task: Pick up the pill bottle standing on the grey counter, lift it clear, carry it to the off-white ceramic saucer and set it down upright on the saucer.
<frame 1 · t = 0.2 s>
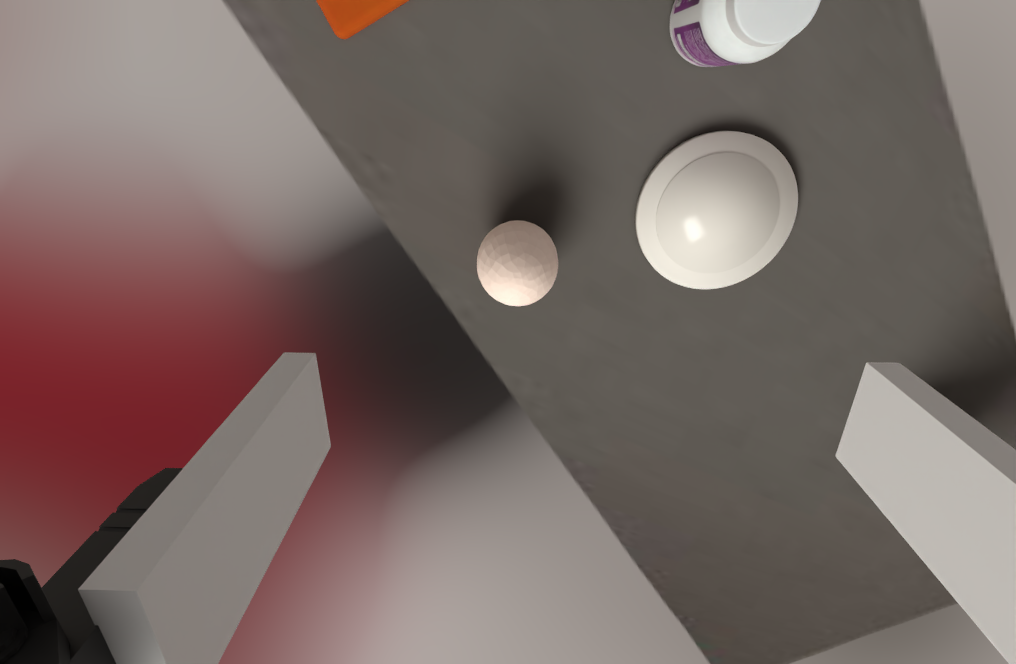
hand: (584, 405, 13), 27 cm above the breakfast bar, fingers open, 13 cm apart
egg: (517, 246, 40), on the breakfast bar
saucer: (712, 212, 38), on the breakfast bar
pill bottle: (710, 18, 33), on the breakfast bar
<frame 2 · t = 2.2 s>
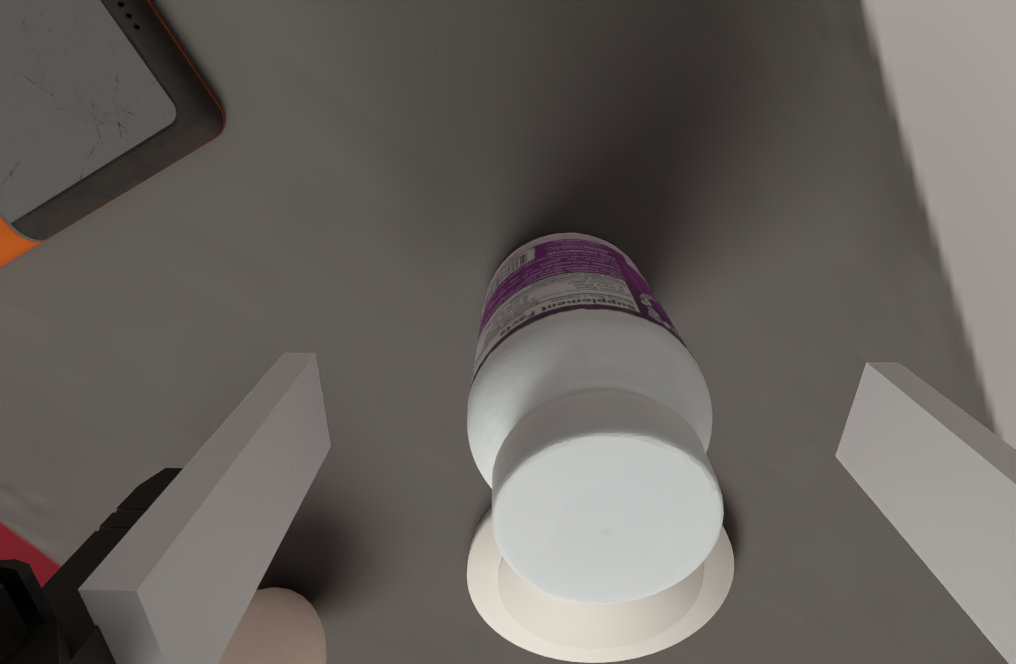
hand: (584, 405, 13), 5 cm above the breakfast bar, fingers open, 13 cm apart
egg: (288, 594, 25), on the breakfast bar
saucer: (596, 563, 23), on the breakfast bar
pill bottle: (564, 303, 18), on the breakfast bar
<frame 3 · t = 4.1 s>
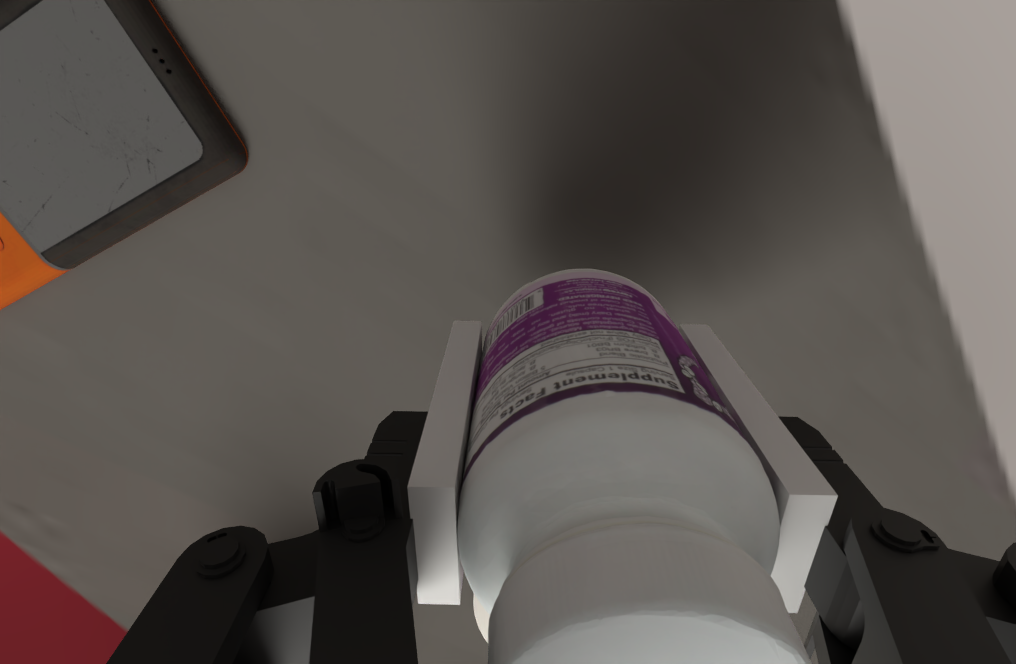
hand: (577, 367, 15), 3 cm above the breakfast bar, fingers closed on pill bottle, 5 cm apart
saucer: (602, 590, 23), on the breakfast bar
pill bottle: (576, 348, 15), point 3 cm above the breakfast bar, touching gripper
phone: (19, 172, 17), on the breakfast bar
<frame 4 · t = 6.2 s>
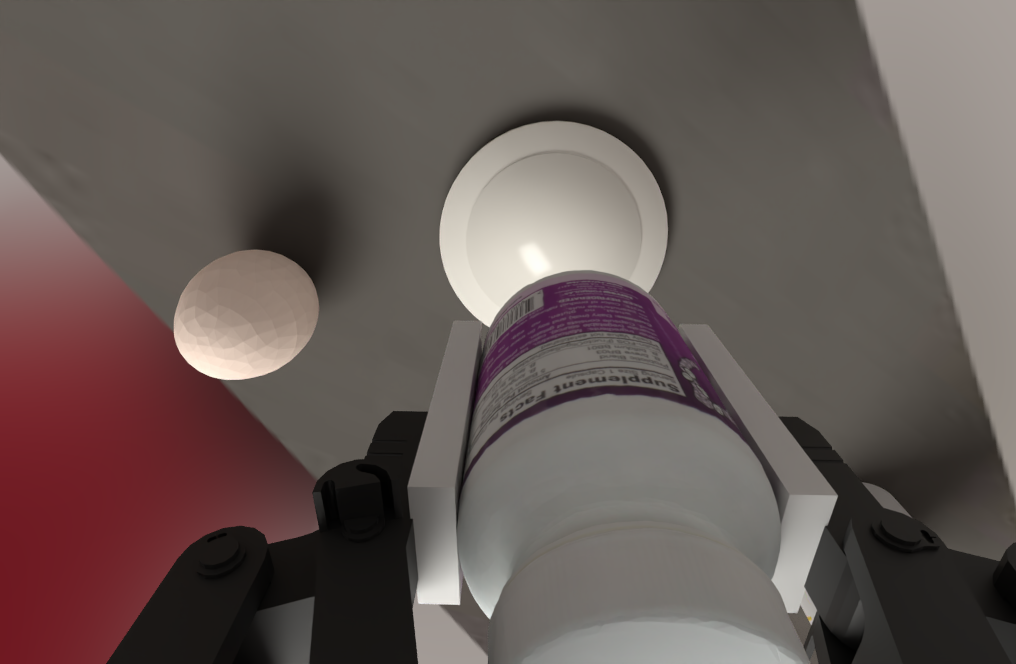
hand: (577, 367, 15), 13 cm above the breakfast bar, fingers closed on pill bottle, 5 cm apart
egg: (286, 282, 28), on the breakfast bar
white upright cylinder: (833, 528, 35), on the breakfast bar
saucer: (552, 238, 27), on the breakfast bar
pill bottle: (576, 350, 15), point 13 cm above the breakfast bar, touching gripper
when the fingers open (2 cm above the breakfast bar, at t = 8.4 s): pill bottle stays where it is, resting on saucer.
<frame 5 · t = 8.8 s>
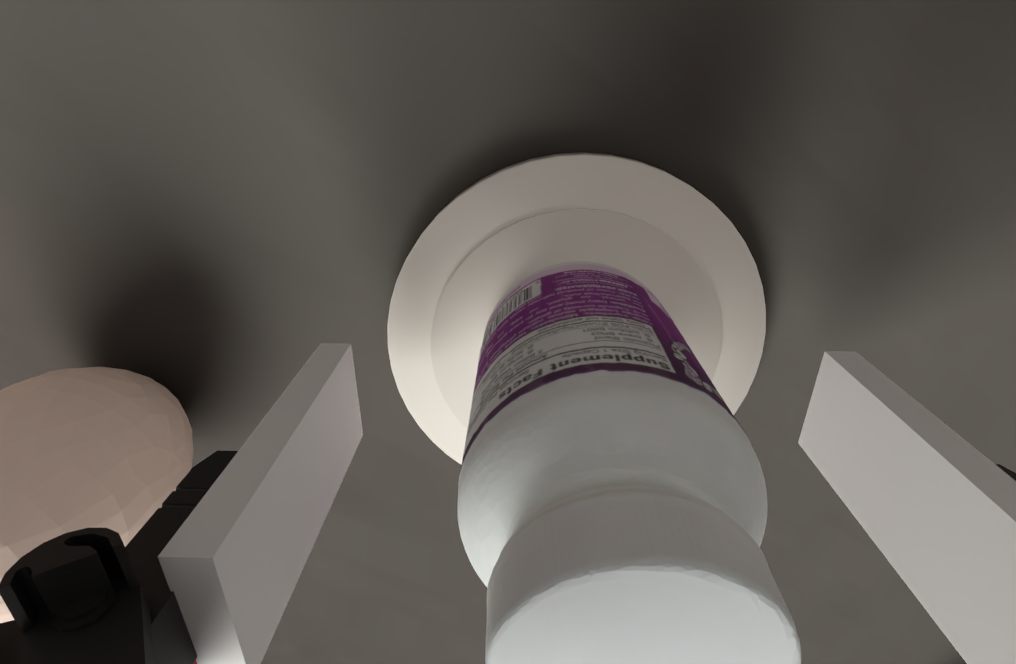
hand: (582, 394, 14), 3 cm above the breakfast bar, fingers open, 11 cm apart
egg: (154, 399, 18), on the breakfast bar
saucer: (571, 339, 17), on the breakfast bar
pill bottle: (574, 340, 16), point 1 cm above the breakfast bar, touching saucer
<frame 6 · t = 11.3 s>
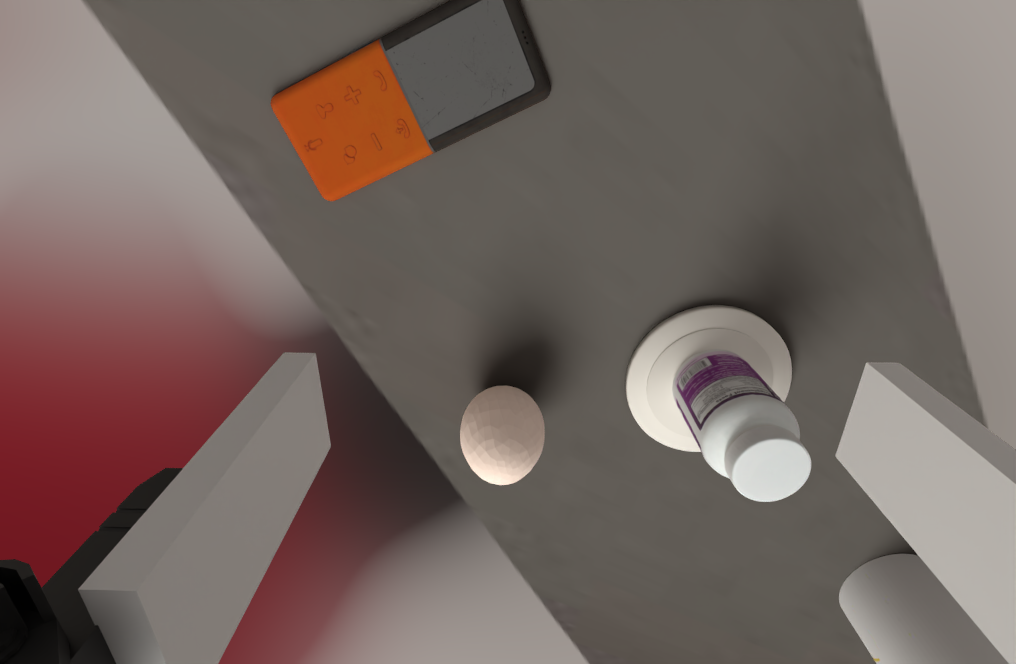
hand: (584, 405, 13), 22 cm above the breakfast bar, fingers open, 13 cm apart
egg: (504, 400, 38), on the breakfast bar
white upright cylinder: (888, 588, 45), on the breakfast bar
saucer: (704, 379, 37), on the breakfast bar
pill bottle: (709, 380, 36), point 1 cm above the breakfast bar, touching saucer
phone: (412, 96, 31), on the breakfast bar
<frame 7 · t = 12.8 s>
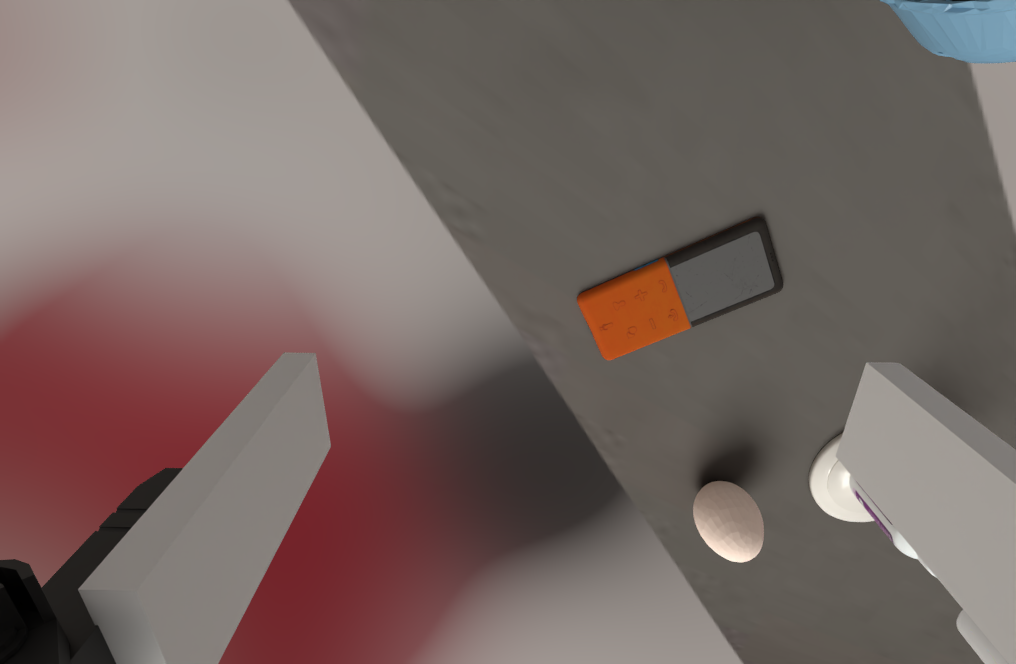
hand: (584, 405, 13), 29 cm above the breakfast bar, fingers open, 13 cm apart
egg: (712, 487, 51), on the breakfast bar
white upright cylinder: (996, 613, 57), on the breakfast bar
saucer: (870, 470, 49), on the breakfast bar
pill bottle: (876, 473, 48), point 1 cm above the breakfast bar, touching saucer
phone: (675, 288, 43), on the breakfast bar
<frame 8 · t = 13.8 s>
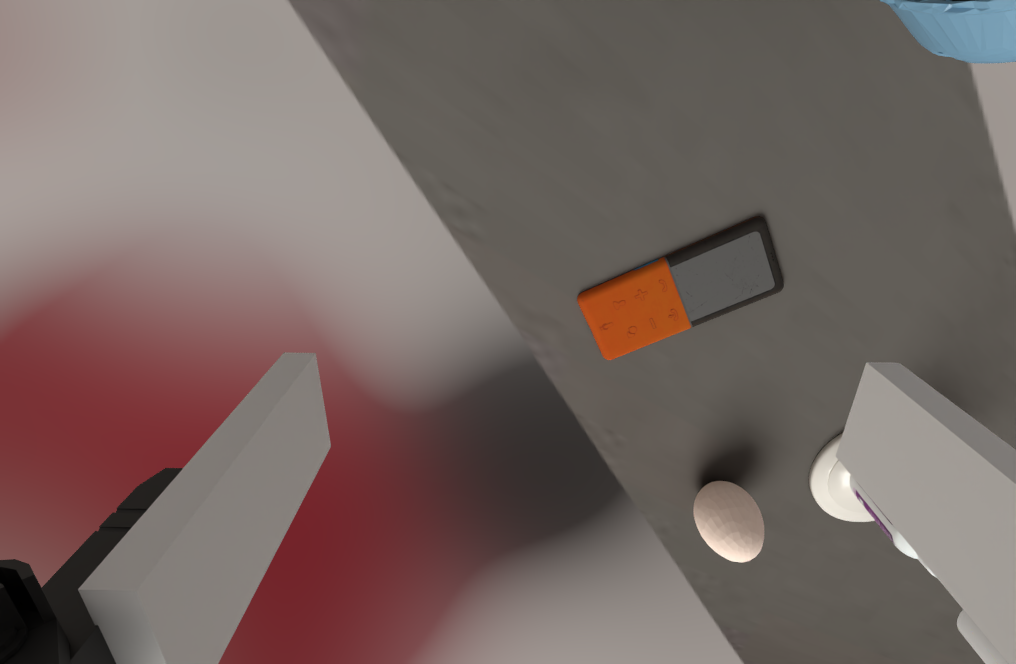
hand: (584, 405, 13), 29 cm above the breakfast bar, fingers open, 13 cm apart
egg: (713, 487, 51), on the breakfast bar
white upright cylinder: (996, 613, 57), on the breakfast bar
saucer: (870, 470, 49), on the breakfast bar
pill bottle: (876, 472, 48), point 1 cm above the breakfast bar, touching saucer
phone: (676, 288, 43), on the breakfast bar
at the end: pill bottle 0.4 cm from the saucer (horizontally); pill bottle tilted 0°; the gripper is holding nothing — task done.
